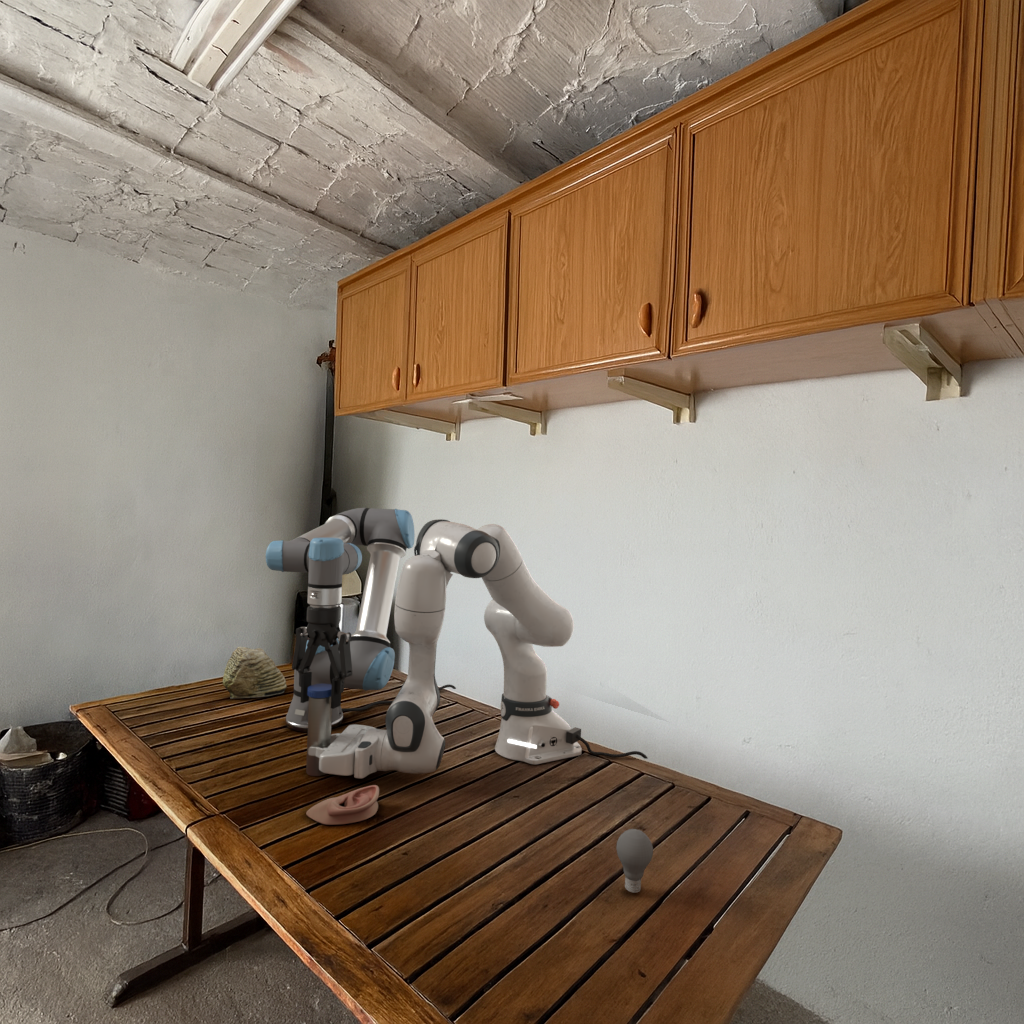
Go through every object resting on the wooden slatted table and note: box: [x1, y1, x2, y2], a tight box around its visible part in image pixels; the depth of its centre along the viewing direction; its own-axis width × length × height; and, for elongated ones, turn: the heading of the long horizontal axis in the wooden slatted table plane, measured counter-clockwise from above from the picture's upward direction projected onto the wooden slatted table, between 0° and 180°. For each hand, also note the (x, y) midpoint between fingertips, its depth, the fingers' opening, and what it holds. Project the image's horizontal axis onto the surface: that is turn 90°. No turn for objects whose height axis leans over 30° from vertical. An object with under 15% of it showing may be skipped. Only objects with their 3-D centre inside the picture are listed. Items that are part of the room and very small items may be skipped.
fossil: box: [222, 646, 288, 699], centre depth 198 cm, size 9×18×15 cm, turn 132°
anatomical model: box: [305, 784, 380, 826], centre depth 128 cm, size 13×4×12 cm
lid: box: [307, 684, 332, 698], centre depth 146 cm, size 6×6×2 cm
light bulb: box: [615, 828, 654, 894], centre depth 106 cm, size 6×6×10 cm
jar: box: [305, 696, 332, 777], centre depth 146 cm, size 5×5×19 cm
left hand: (320, 703), depth 146 cm, fingers open, 8 cm apart
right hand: (315, 744), depth 146 cm, fingers closed on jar, 5 cm apart
